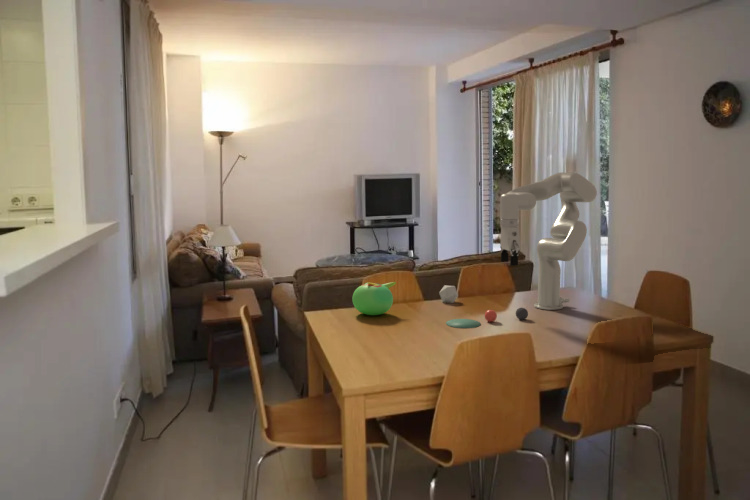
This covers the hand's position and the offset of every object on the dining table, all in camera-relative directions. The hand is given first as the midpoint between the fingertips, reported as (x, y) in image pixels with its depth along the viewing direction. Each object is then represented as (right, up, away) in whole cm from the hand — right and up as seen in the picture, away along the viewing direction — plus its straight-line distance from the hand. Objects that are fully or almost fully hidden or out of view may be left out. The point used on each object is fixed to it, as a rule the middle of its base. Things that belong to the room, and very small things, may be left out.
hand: (509, 263), depth 241 cm
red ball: (-9, -21, -6) cm, 24 cm away
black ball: (+4, -21, -3) cm, 22 cm away
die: (-22, -19, +31) cm, 42 cm away
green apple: (-58, -23, +9) cm, 63 cm away
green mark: (-21, -24, -9) cm, 33 cm away
